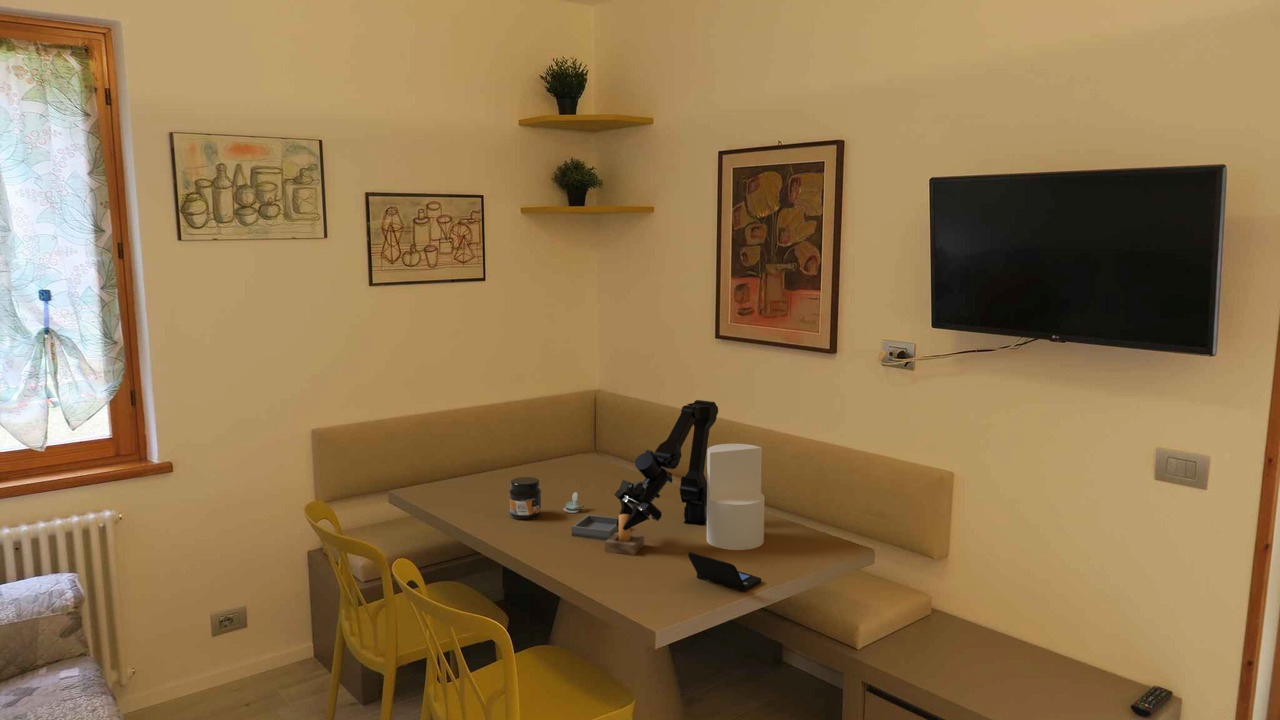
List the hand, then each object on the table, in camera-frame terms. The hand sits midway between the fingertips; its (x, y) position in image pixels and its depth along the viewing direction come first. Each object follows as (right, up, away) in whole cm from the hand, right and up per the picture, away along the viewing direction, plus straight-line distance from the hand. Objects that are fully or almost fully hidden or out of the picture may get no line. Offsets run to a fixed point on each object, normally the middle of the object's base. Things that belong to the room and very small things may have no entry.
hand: (620, 527), depth 260 cm
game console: (+28, -10, -24) cm, 39 cm away
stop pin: (+1, -6, +2) cm, 7 cm away
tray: (-7, -4, +16) cm, 18 cm away
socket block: (+1, -6, +2) cm, 7 cm away
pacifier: (-17, -2, +38) cm, 42 cm away
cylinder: (+35, -6, +9) cm, 36 cm away
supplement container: (-32, -2, +33) cm, 46 cm away
